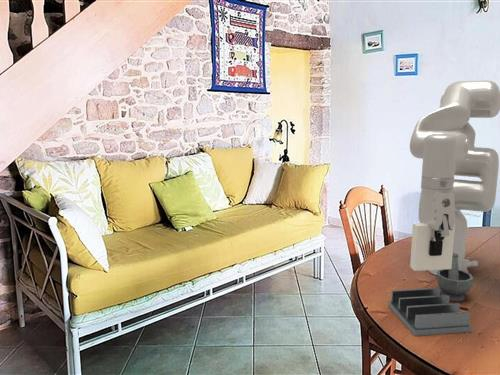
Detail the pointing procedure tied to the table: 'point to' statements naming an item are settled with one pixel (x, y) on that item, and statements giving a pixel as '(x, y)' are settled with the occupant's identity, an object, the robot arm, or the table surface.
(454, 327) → the rack
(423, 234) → the white flat block
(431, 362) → the table surface
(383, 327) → the table surface
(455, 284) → the mortar and pestle
